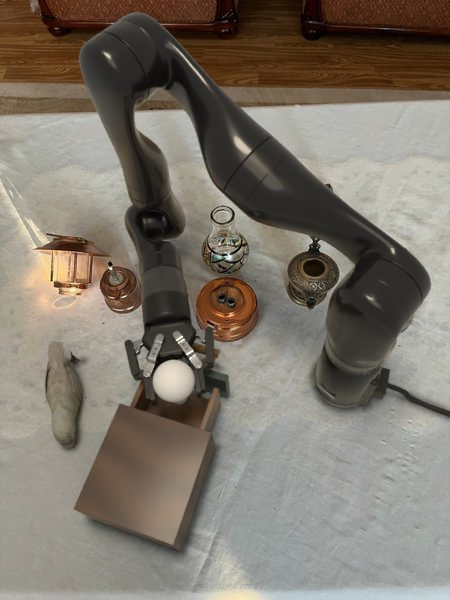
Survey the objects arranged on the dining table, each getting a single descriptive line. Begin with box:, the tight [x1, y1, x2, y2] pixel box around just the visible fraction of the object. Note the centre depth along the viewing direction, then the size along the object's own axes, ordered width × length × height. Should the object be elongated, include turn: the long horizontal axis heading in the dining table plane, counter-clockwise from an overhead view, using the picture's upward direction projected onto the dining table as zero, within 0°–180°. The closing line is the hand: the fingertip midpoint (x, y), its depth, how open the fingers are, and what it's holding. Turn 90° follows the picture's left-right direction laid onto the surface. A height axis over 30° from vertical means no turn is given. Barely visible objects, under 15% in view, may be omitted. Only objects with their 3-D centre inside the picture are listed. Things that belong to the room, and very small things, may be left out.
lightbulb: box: [153, 360, 195, 405], centre depth 78 cm, size 6×6×11 cm
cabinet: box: [73, 403, 216, 552], centre depth 77 cm, size 16×15×10 cm
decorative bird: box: [44, 340, 82, 448], centre depth 85 cm, size 5×16×8 cm, turn 11°
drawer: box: [129, 342, 231, 433], centre depth 83 cm, size 20×13×8 cm
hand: (177, 399), depth 76 cm, fingers closed on lightbulb, 6 cm apart
